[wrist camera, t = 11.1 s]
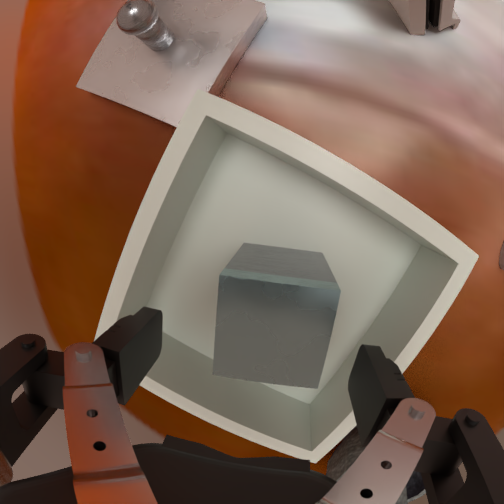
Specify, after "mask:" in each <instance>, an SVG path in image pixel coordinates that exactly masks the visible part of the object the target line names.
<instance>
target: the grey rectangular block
mask: <svg viewBox="0 0 504 504" xmlns="http://www.w3.org/2000/svg"><path fill="white" fill-rule="evenodd" d="M340 293H341V290H340V288H339V285H338V283H337V281H336V279H335V277H334V275H333V273H332V271H331V269H330V267H329V265H328V263H327V261H326V259H325V257H324V255H323V253H321V252H313V251H306V250H298V249H290V248H282V247H275V246H267V245H259V244H251V243H243V245H242V246H241V247H240V248H239V250H238V251H237V252H236V254H235V255H234V256H233V258H232V259H231V260H230V261H229V263H228V264H227V265H226V267H225V268H224V269H223V271H222V272H221V273H220V275H219V285H218V298H217V312H216V326H215V341H214V358H213V375H217V376H223V377H229V378H235V379H241V380H247V381H254V382H261V383H268V384H276V385H285V386H294V387H304V388H315V389H318V386H319V382H320V378H321V375H322V371H323V367H324V363H325V359H326V355H327V351H328V347H329V343H330V339H331V335H332V330H333V326H334V321H335V317H336V312H337V308H338V303H339V298H340Z"/></svg>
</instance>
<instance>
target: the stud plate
mask: <svg viewBox="0 0 504 504" xmlns="http://www.w3.org/2000/svg"><path fill="white" fill-rule="evenodd" d="M266 19H267V13H266V7H265V4H264V3H261V2H258V1H255V0H128V1H127V2H126V3H125V4H124V5H123V6H122V7H121V8H120V9H119V11H118V13H117V16H116V18H115V19H114V21H113V22H112V24H111V25H110V27H109V28H108V30H107V32H106V33H105V35H104V36H103V38H102V40H101V41H100V43H99V45H98V46H97V48H96V50H95V52H94V53H93V55H92V57H91V59H90V60H89V62H88V64H87V66H86V68H85V70H84V72H83V74H82V75H81V77H80V79H79V81H78V83H77V85H76V87H78V88H80V89H83V90H86V91H88V92H91V93H93V94H96V95H99V96H101V97H104V98H107V99H109V100H112V101H114V102H117V103H119V104H122V105H125V106H127V107H129V108H132V109H134V110H137V111H139V112H142V113H144V114H146V115H149V116H151V117H154V118H156V119H158V120H161V121H163V122H165V123H167V124H170V125H172V126H174V127H176V128H177V126H178V124H179V122H180V120H181V119H182V117H183V115H184V113H185V111H186V109H187V107H188V106H189V104H190V102H191V100H192V98H193V96H194V95H195V93H196V91H197V89H200V90H202V91H205V92H207V93H210V94H212V95H214V96H217V97H218V96H219V94H220V93H221V91H222V89H223V87H224V86H225V84H226V82H227V81H228V79H229V77H230V75H231V74H232V72H233V70H234V69H235V67H236V66H237V64H238V62H239V61H240V59H241V57H242V56H243V54H244V53H245V51H246V49H247V48H248V46H249V45H250V43H251V42H252V40H253V39H254V37H255V36H256V34H257V33H258V31H259V30H260V28H261V27H262V25H263V24H264V22H265V21H266Z"/></svg>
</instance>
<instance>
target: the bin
mask: <svg viewBox="0 0 504 504" xmlns="http://www.w3.org/2000/svg"><path fill="white" fill-rule="evenodd" d="M243 243H251V244H259V245H267V246H275V247H282V248H290V249H298V250H306V251H313V252H321V253H323V255H324V257H325V259H326V261H327V263H328V265H329V267H330V269H331V271H332V273H333V275H334V277H335V279H336V281H337V283H338V285H339V288H340V290H341V293H340V298H339V303H338V308H337V312H336V317H335V321H334V326H333V330H332V335H331V339H330V343H329V347H328V351H327V355H326V359H325V363H324V367H323V371H322V375H321V378H320V382H319V386H318V389H315V388H304V387H294V386H285V385H276V384H268V383H261V382H254V381H247V380H241V379H235V378H229V377H223V376H217V375H213V358H214V341H215V326H216V312H217V298H218V285H219V275H220V273H221V272H222V271H223V269H224V268H225V267H226V265H227V264H228V263H229V261H230V260H231V259H232V258H233V256H234V255H235V254H236V252H237V251H238V250H239V248H240V247H241V246H242V245H243ZM478 257H479V255H477V254H476V253H475V252H474V251H473V250H471V249H470V248H469V247H468V246H467V245H465V244H464V243H463V242H462V241H460V240H459V239H458V238H457V237H455V236H454V235H453V234H452V233H450V232H449V231H448V230H446V229H445V228H444V227H443V226H441V225H440V224H439V223H437V222H436V221H435V220H433V219H432V218H431V217H429V216H428V215H426V214H425V213H424V212H422V211H421V210H420V209H418V208H417V207H415V206H414V205H413V204H411V203H410V202H408V201H407V200H405V199H404V198H402V197H401V196H400V195H398V194H397V193H395V192H394V191H392V190H391V189H389V188H388V187H386V186H385V185H383V184H381V183H380V182H378V181H377V180H375V179H374V178H372V177H371V176H369V175H367V174H366V173H364V172H363V171H361V170H359V169H358V168H356V167H354V166H353V165H351V164H349V163H348V162H346V161H344V160H343V159H341V158H339V157H337V156H336V155H334V154H332V153H331V152H329V151H327V150H325V149H323V148H322V147H320V146H318V145H316V144H314V143H313V142H311V141H309V140H307V139H305V138H303V137H301V136H300V135H298V134H296V133H294V132H292V131H290V130H288V129H286V128H284V127H282V126H280V125H278V124H276V123H274V122H272V121H270V120H268V119H266V118H264V117H262V116H259V115H257V114H255V113H253V112H251V111H249V110H247V109H244V108H242V107H240V106H238V105H235V104H233V103H231V102H229V101H226V100H224V99H222V98H219V97H217V96H214V95H212V94H210V93H207V92H205V91H202V90H200V89H197V91H196V93H195V95H194V96H193V98H192V100H191V102H190V104H189V106H188V107H187V109H186V111H185V113H184V115H183V117H182V119H181V120H180V122H179V124H178V126H177V128H176V130H175V132H174V134H173V136H172V138H171V140H170V142H169V144H168V146H167V148H166V150H165V152H164V154H163V156H162V158H161V161H160V163H159V165H158V167H157V169H156V171H155V173H154V176H153V178H152V180H151V182H150V185H149V187H148V189H147V191H146V194H145V196H144V198H143V201H142V203H141V205H140V208H139V210H138V213H137V215H136V218H135V220H134V223H133V225H132V228H131V230H130V233H129V235H128V238H127V241H126V243H125V246H124V249H123V251H122V254H121V257H120V260H119V262H118V265H117V268H116V271H115V274H114V277H113V280H112V283H111V286H110V289H109V292H108V295H107V298H106V302H105V305H104V308H103V311H102V315H101V318H100V322H99V325H98V329H97V332H96V336H95V340H96V339H97V338H98V337H99V336H100V335H102V334H103V333H104V332H105V331H106V330H108V329H109V328H110V327H111V326H113V324H114V323H115V322H117V321H118V320H119V319H120V318H123V317H126V316H128V315H135V314H136V313H137V312H138V311H139V310H140V309H141V308H142V307H149V308H153V309H157V310H161V311H162V314H163V325H162V349H161V353H160V356H159V358H158V359H157V361H156V362H155V363H154V365H153V366H152V368H151V369H150V370H149V372H148V373H147V375H146V376H145V377H144V379H143V380H142V382H141V383H140V386H142V387H144V388H145V389H147V390H149V391H150V392H152V393H154V394H156V395H157V396H159V397H161V398H163V399H164V400H166V401H168V402H170V403H172V404H174V405H175V406H177V407H179V408H181V409H183V410H185V411H187V412H189V413H191V414H193V415H195V416H197V417H199V418H201V419H203V420H205V421H207V422H209V423H211V424H214V425H216V426H218V427H220V428H222V429H224V430H227V431H229V432H231V433H234V434H236V435H238V436H241V437H243V438H245V439H248V440H250V441H253V442H255V443H258V444H260V445H263V446H266V447H268V448H271V449H274V450H276V451H279V452H282V453H285V454H288V455H291V456H294V457H297V458H300V459H304V460H310V462H312V463H317V462H318V461H319V460H320V459H321V458H322V457H324V456H325V455H326V454H327V453H328V452H329V451H330V450H331V449H332V448H333V447H334V446H336V445H337V444H338V443H339V442H340V441H341V440H342V439H343V438H344V437H345V436H346V435H347V434H348V433H349V432H350V431H351V430H352V429H353V428H354V427H355V426H356V425H357V424H356V420H355V416H354V412H353V408H352V404H351V400H350V396H349V392H348V380H349V376H350V373H351V371H352V368H353V365H354V362H355V359H356V356H357V353H358V350H359V348H360V346H361V345H362V344H365V345H375V346H380V347H381V349H382V351H383V353H384V355H385V357H386V358H390V359H391V360H392V361H393V362H394V363H395V364H397V365H398V367H399V369H400V371H401V373H403V372H404V371H405V370H406V368H407V367H408V366H409V365H410V363H411V362H412V361H413V359H414V358H415V357H416V355H417V354H418V353H419V351H420V350H421V349H422V347H423V346H424V345H425V343H426V342H427V340H428V339H429V338H430V336H431V335H432V333H433V332H434V330H435V329H436V328H437V326H438V325H439V323H440V322H441V320H442V319H443V317H444V316H445V314H446V312H447V311H448V309H449V308H450V306H451V305H452V303H453V301H454V300H455V298H456V296H457V295H458V293H459V291H460V290H461V288H462V286H463V285H464V283H465V281H466V279H467V278H468V276H469V274H470V272H471V270H472V269H473V267H474V265H475V263H476V261H477V259H478ZM95 340H94V341H95Z"/></svg>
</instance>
